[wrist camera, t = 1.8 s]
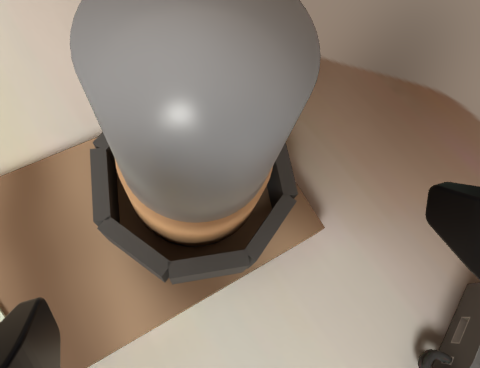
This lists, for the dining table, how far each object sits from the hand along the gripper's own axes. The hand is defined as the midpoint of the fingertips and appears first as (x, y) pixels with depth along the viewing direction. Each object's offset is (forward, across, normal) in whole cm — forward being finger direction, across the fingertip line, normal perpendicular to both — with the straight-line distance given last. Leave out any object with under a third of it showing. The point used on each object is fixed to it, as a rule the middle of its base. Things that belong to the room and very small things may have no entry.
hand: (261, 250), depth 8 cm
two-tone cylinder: (+11, 0, +4) cm, 11 cm away
